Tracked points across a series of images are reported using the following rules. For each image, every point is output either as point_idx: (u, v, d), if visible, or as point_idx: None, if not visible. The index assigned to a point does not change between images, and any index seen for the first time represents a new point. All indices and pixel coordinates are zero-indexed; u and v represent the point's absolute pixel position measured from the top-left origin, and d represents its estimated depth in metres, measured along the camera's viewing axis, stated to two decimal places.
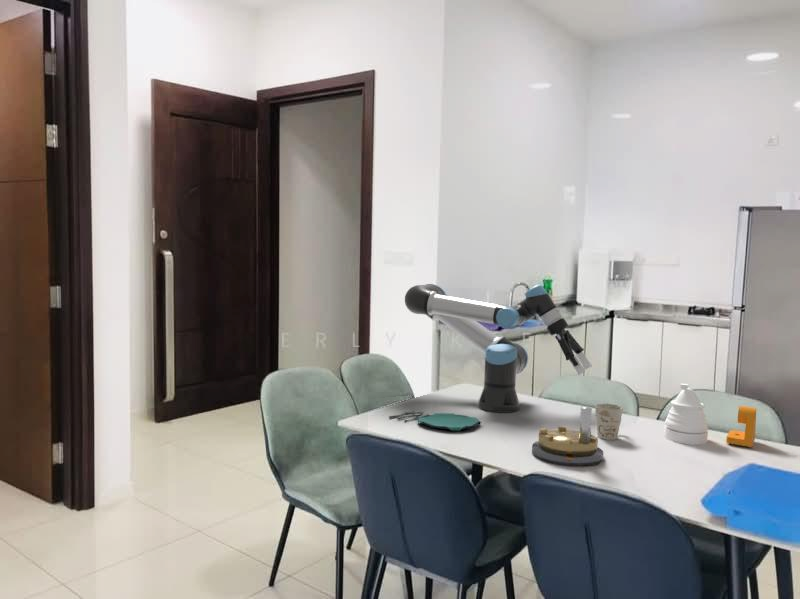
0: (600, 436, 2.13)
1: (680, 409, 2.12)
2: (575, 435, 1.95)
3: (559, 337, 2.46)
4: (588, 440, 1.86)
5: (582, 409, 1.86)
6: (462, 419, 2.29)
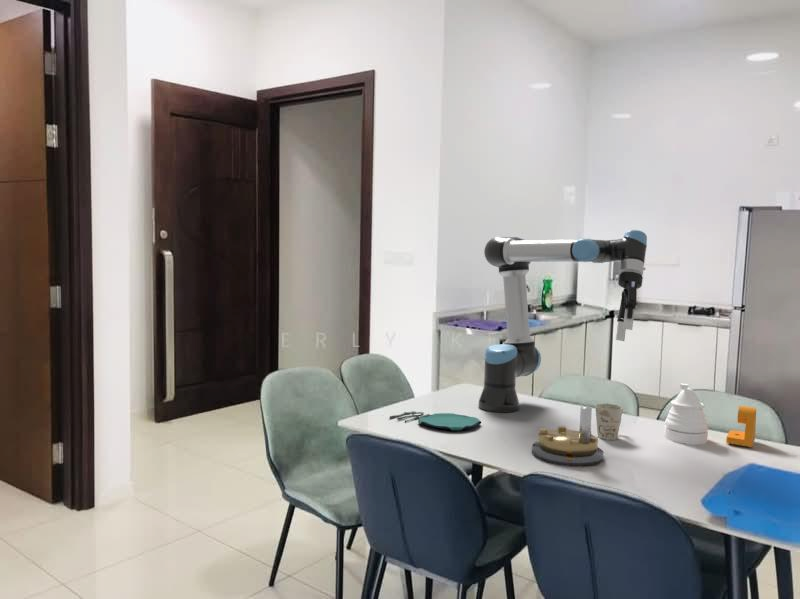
0: (600, 436, 2.13)
1: (680, 409, 2.12)
2: (575, 435, 1.95)
3: (633, 284, 2.16)
4: (588, 440, 1.86)
5: (582, 409, 1.86)
6: (462, 419, 2.29)
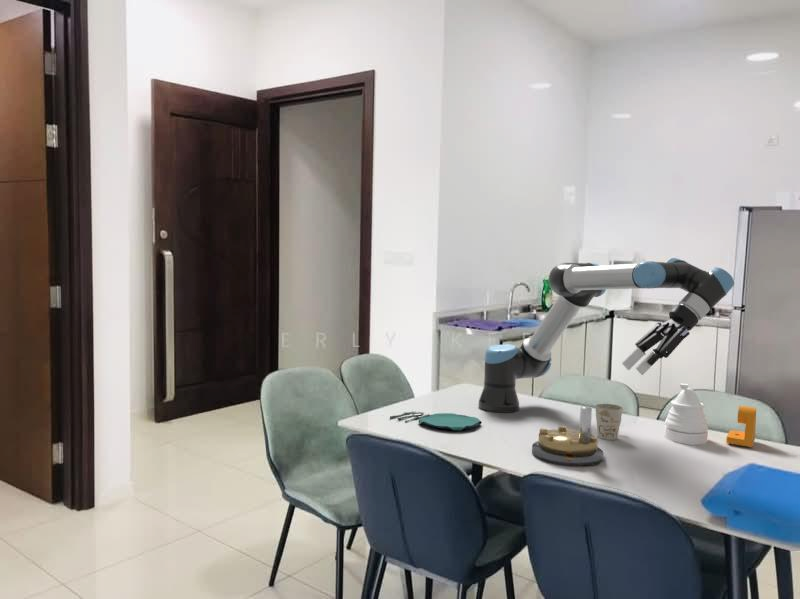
0: (600, 436, 2.13)
1: (680, 409, 2.12)
2: (575, 435, 1.95)
3: (684, 333, 1.83)
4: (588, 440, 1.86)
5: (582, 409, 1.86)
6: (462, 419, 2.29)
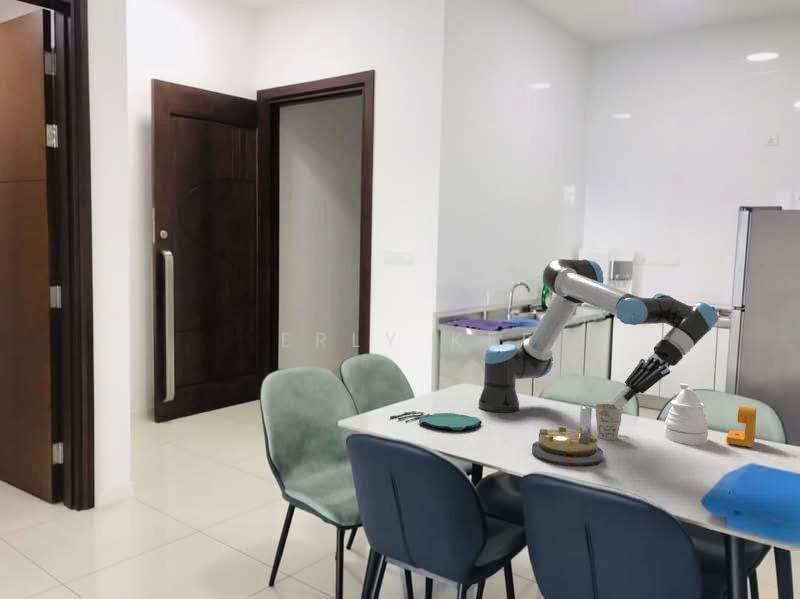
0: (600, 436, 2.13)
1: (680, 409, 2.12)
2: (575, 435, 1.95)
3: (664, 372, 1.83)
4: (588, 440, 1.86)
5: (582, 409, 1.86)
6: (463, 418, 2.29)
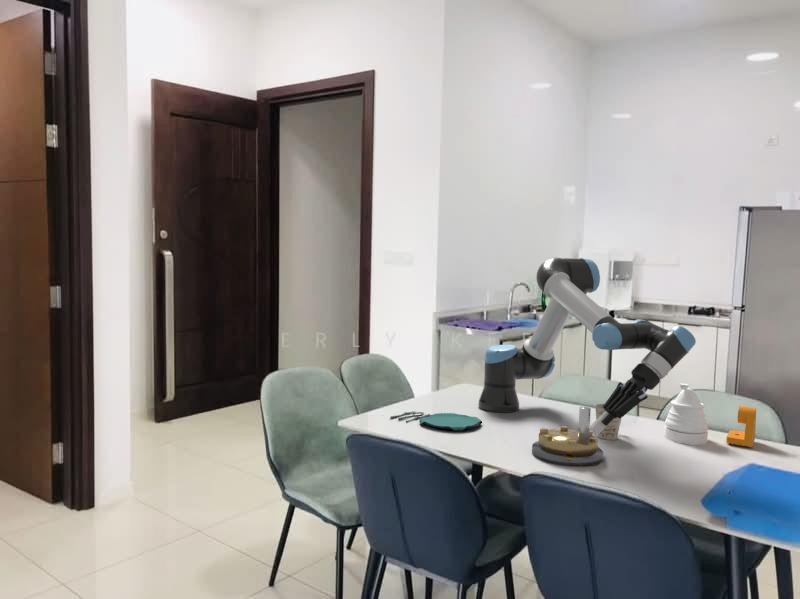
0: (600, 436, 2.13)
1: (680, 409, 2.12)
2: (576, 435, 1.95)
3: (641, 397, 1.83)
4: (587, 440, 1.86)
5: (581, 409, 1.86)
6: (463, 418, 2.29)
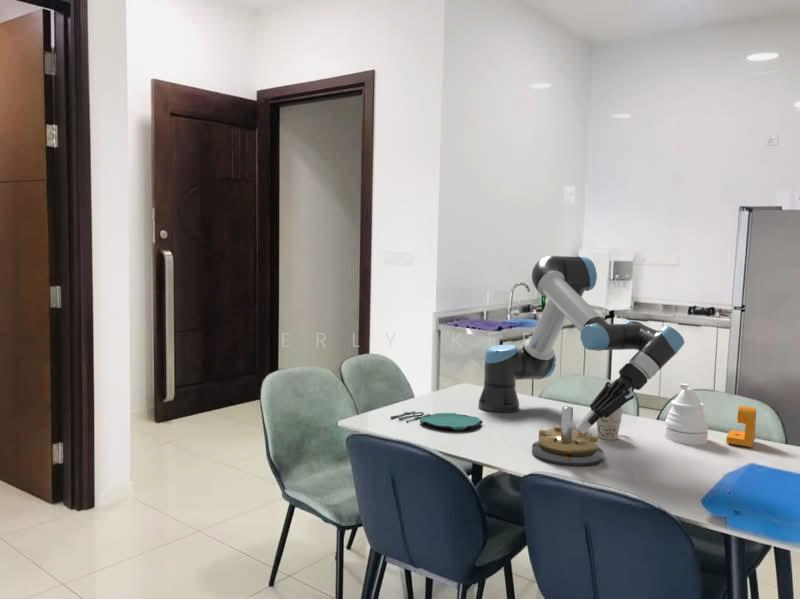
0: (600, 436, 2.13)
1: (680, 409, 2.12)
2: (579, 438, 1.92)
3: (627, 397, 1.82)
4: (565, 440, 1.86)
5: (562, 408, 1.87)
6: (463, 418, 2.29)
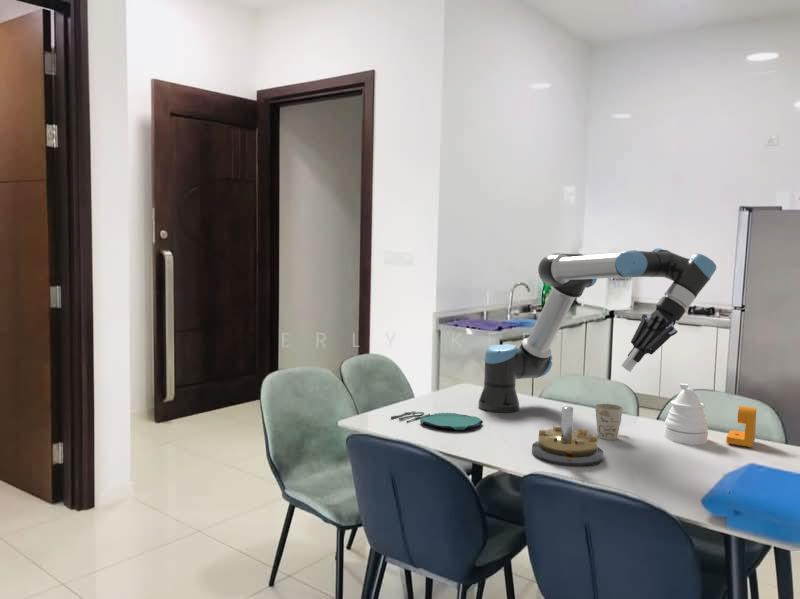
0: (600, 436, 2.13)
1: (680, 409, 2.12)
2: (579, 438, 1.92)
3: (671, 333, 1.87)
4: (565, 440, 1.86)
5: (562, 408, 1.87)
6: (463, 418, 2.30)
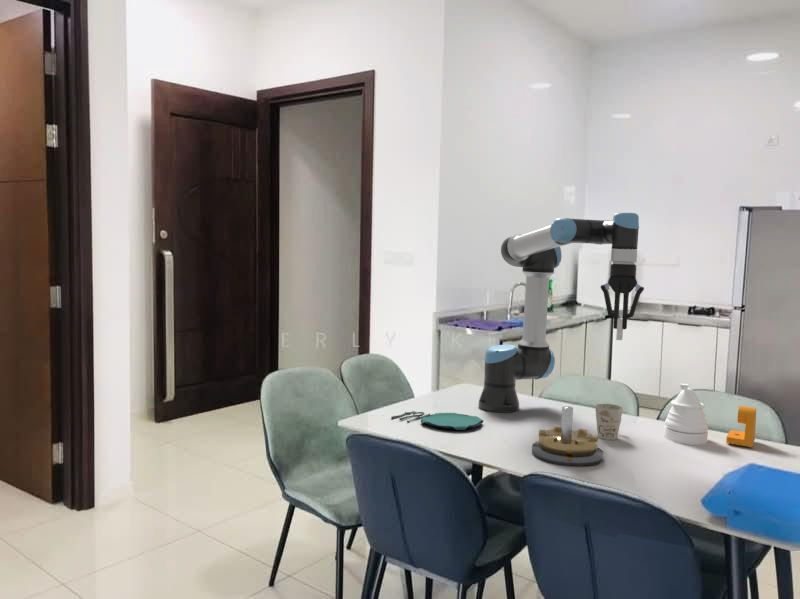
0: (600, 436, 2.13)
1: (680, 409, 2.12)
2: (579, 438, 1.92)
3: (642, 291, 2.03)
4: (565, 440, 1.86)
5: (562, 408, 1.87)
6: (464, 418, 2.30)
